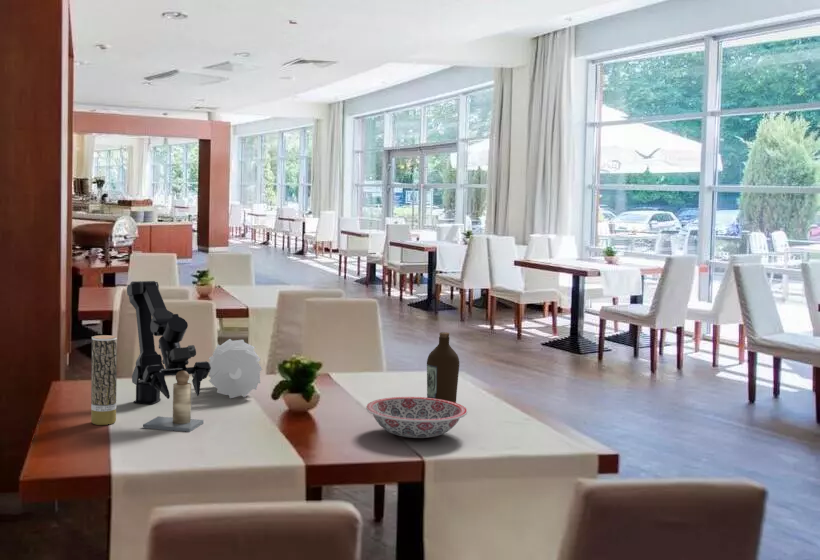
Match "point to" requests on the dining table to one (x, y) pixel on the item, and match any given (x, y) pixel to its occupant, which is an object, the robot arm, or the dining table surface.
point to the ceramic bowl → (416, 415)
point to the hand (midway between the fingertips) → (183, 396)
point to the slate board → (172, 424)
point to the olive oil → (442, 371)
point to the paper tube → (103, 379)
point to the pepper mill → (182, 398)
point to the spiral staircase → (234, 368)
